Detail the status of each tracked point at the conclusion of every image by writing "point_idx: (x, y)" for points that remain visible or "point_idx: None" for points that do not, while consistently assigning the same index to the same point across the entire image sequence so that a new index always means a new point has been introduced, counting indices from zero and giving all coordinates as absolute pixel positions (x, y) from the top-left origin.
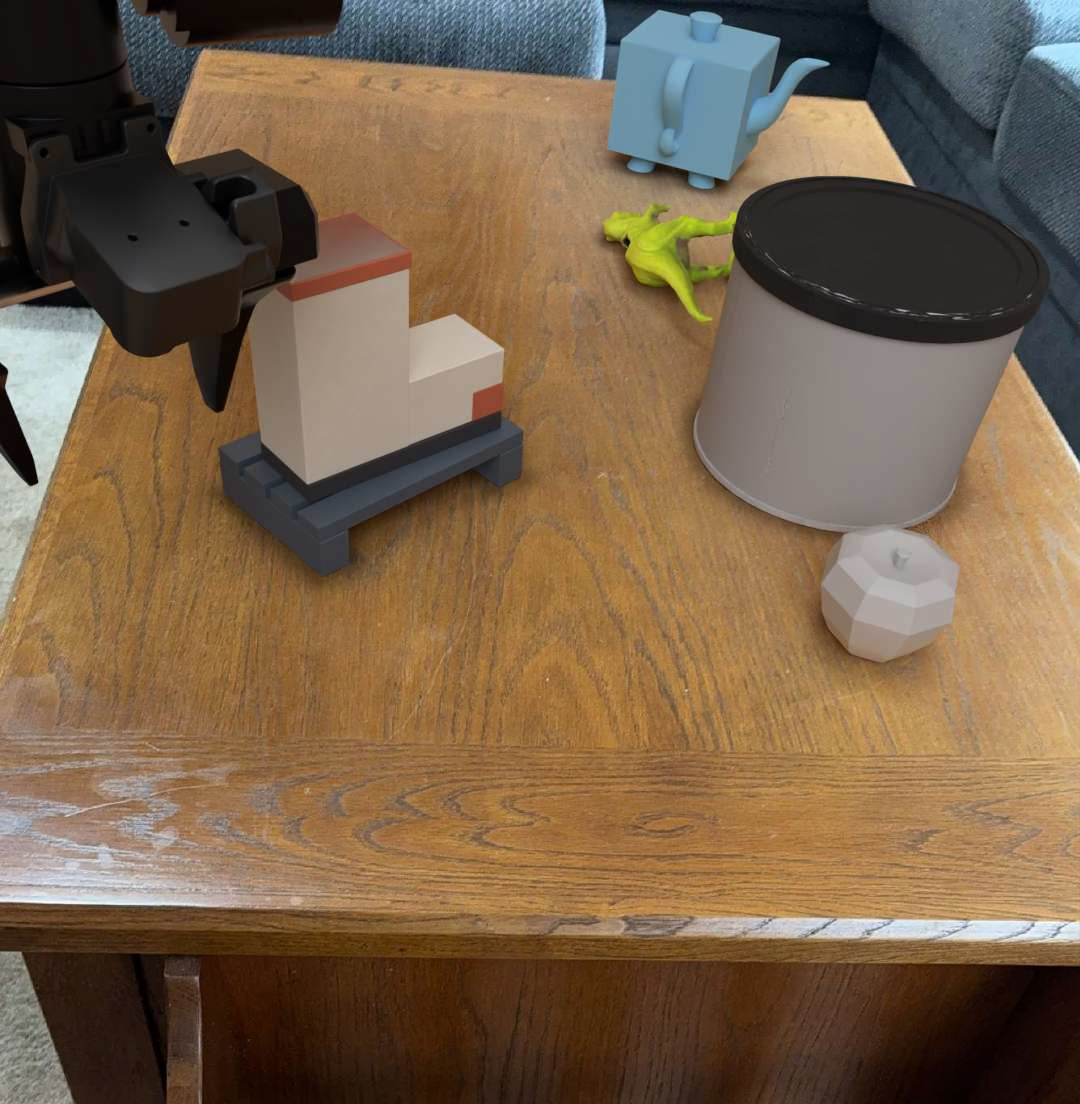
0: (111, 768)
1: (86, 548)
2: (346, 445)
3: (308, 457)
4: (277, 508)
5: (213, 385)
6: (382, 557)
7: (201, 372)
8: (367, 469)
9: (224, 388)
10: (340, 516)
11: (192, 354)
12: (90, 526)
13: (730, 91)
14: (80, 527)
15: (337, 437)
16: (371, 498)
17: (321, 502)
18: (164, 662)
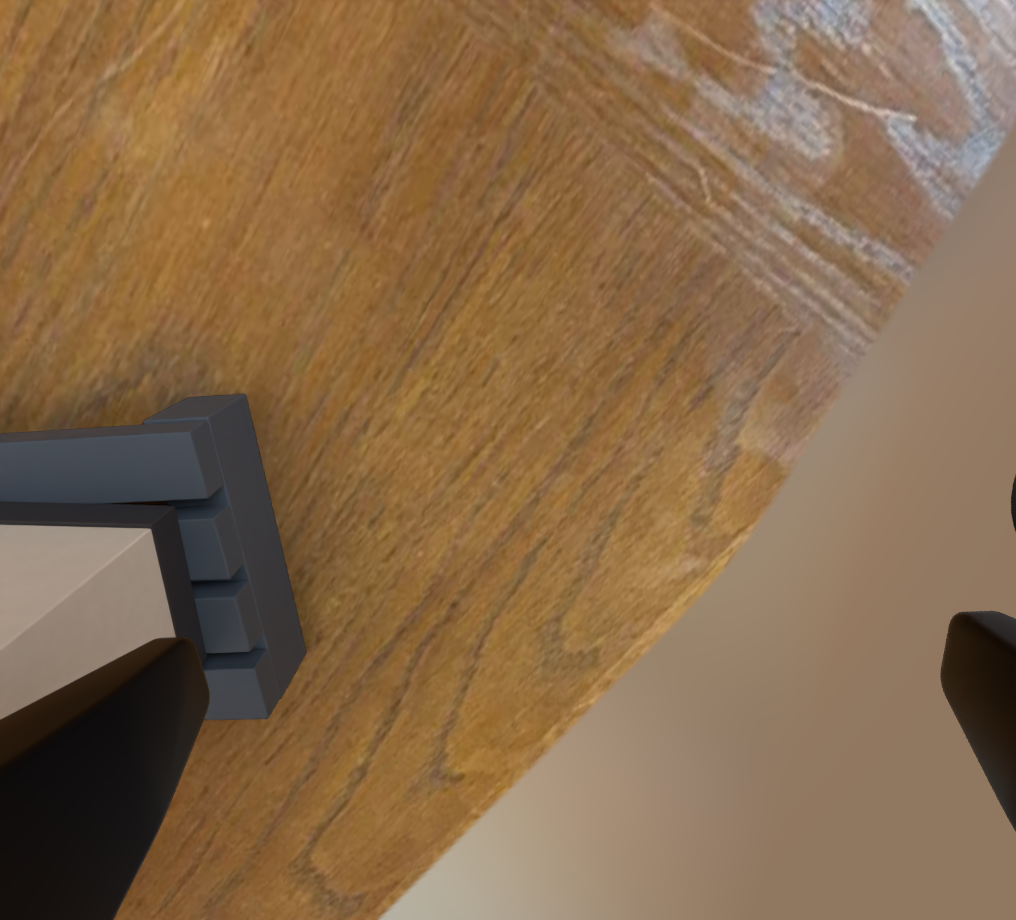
0: (789, 180)
1: (548, 657)
2: (6, 556)
3: (100, 561)
4: (240, 544)
5: (112, 724)
6: (127, 379)
7: (125, 809)
8: (20, 514)
9: (79, 692)
10: (133, 440)
11: (106, 909)
12: (519, 694)
13: None
14: (533, 699)
15: (5, 572)
16: (53, 452)
17: (152, 495)
18: (580, 363)
